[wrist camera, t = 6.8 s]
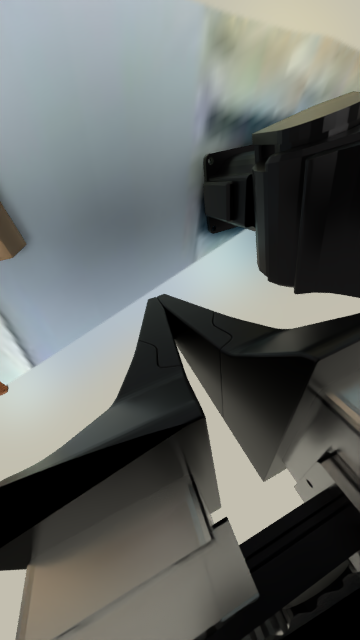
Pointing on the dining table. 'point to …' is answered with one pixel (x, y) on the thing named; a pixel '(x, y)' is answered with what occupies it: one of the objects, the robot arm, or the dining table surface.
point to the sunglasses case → (3, 388)
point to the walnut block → (9, 236)
